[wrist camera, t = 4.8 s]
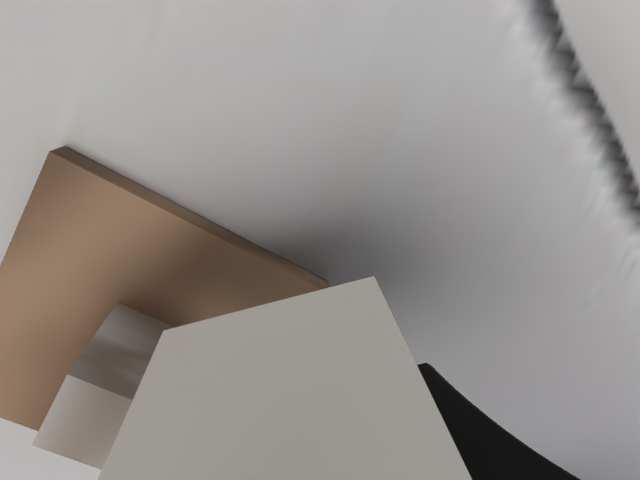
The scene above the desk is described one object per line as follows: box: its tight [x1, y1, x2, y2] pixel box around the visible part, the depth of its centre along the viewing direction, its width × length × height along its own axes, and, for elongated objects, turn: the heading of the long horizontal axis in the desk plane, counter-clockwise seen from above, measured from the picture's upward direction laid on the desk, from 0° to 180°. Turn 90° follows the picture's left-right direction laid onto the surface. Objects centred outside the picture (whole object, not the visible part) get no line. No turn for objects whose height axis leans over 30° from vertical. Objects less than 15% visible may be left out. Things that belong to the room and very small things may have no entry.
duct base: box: [0, 146, 329, 470], centre depth 17 cm, size 11×11×6 cm
